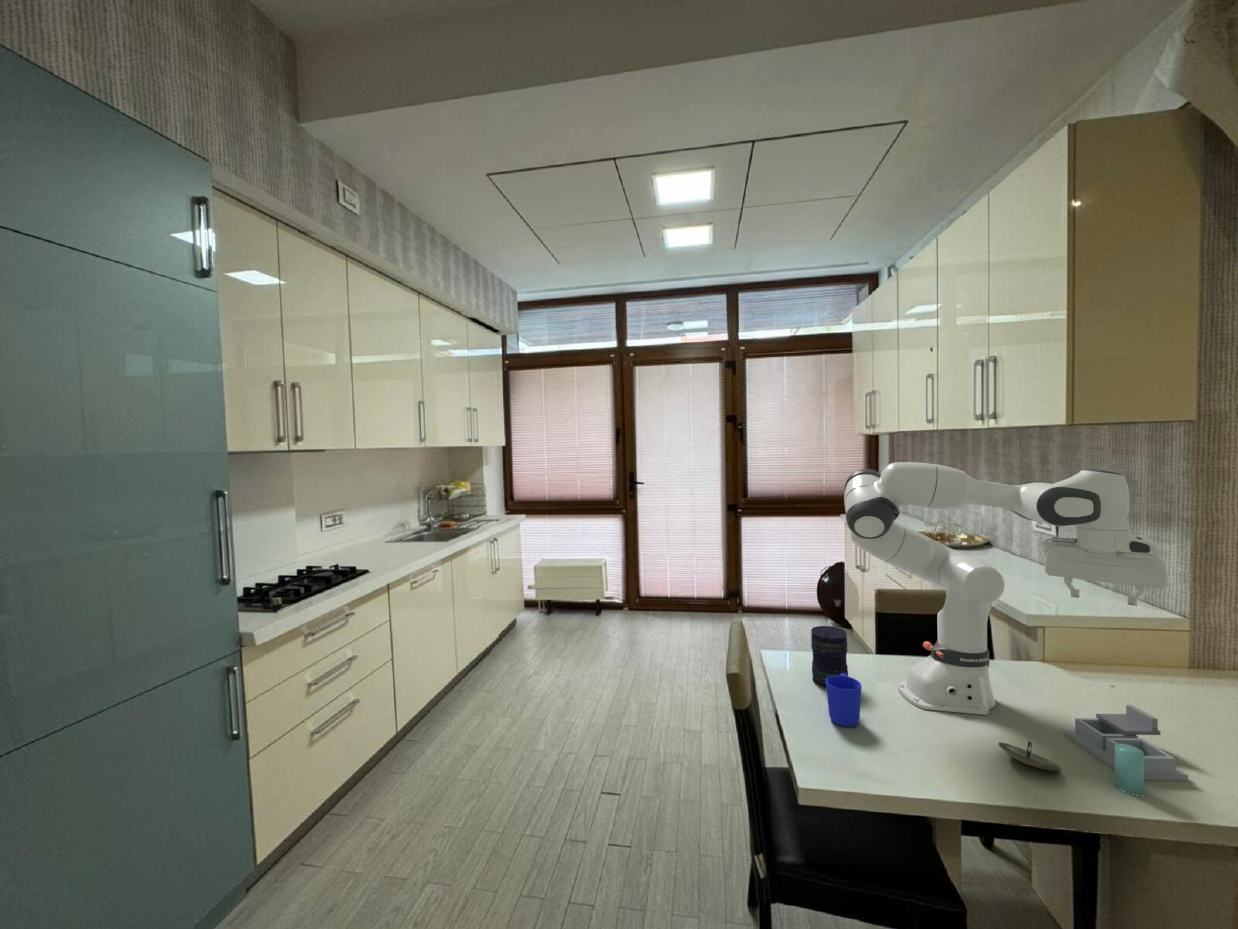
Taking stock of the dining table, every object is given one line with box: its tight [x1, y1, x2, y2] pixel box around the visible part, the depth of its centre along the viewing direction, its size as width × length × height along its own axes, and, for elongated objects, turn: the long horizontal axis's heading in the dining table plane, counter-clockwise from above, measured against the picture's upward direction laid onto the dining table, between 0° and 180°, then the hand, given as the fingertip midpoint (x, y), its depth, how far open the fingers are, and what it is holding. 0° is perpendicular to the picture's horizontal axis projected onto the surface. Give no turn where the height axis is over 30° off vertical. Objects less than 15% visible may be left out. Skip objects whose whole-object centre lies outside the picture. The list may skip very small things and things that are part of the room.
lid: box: [997, 740, 1062, 773], centre depth 107 cm, size 11×10×5 cm
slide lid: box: [1095, 704, 1161, 736], centre depth 113 cm, size 7×7×3 cm
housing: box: [1064, 717, 1189, 782], centre depth 109 cm, size 16×11×4 cm
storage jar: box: [810, 625, 849, 689], centre depth 148 cm, size 10×10×15 cm
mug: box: [825, 673, 862, 728], centre depth 128 cm, size 8×12×10 cm
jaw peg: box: [1114, 743, 1145, 797], centre depth 99 cm, size 4×4×8 cm
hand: (1102, 600), depth 115 cm, fingers open, 8 cm apart
